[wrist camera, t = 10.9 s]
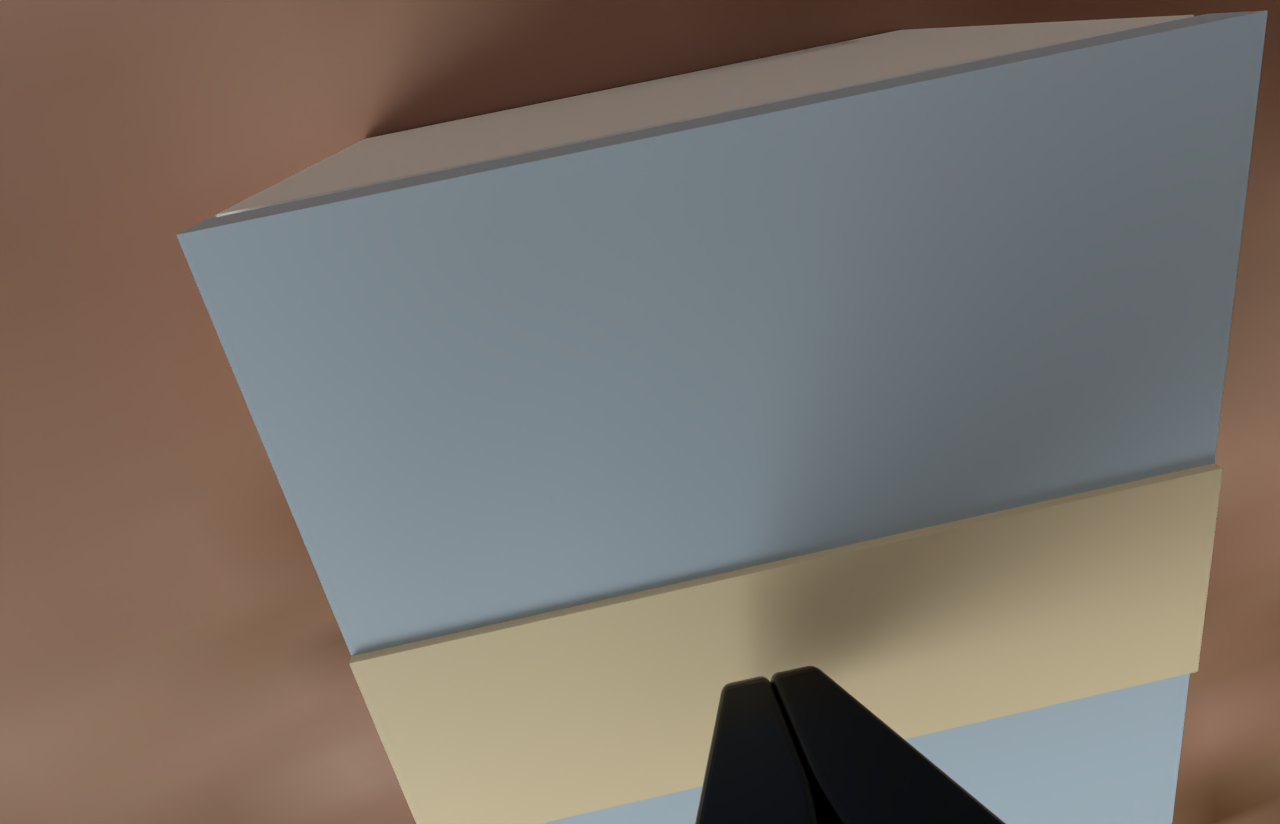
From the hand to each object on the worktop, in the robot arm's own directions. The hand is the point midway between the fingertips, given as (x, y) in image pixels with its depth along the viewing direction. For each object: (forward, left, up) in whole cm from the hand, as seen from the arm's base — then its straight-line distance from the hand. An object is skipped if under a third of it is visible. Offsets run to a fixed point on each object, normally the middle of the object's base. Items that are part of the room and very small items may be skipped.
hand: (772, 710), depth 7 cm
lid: (0, 0, -1) cm, 1 cm away
